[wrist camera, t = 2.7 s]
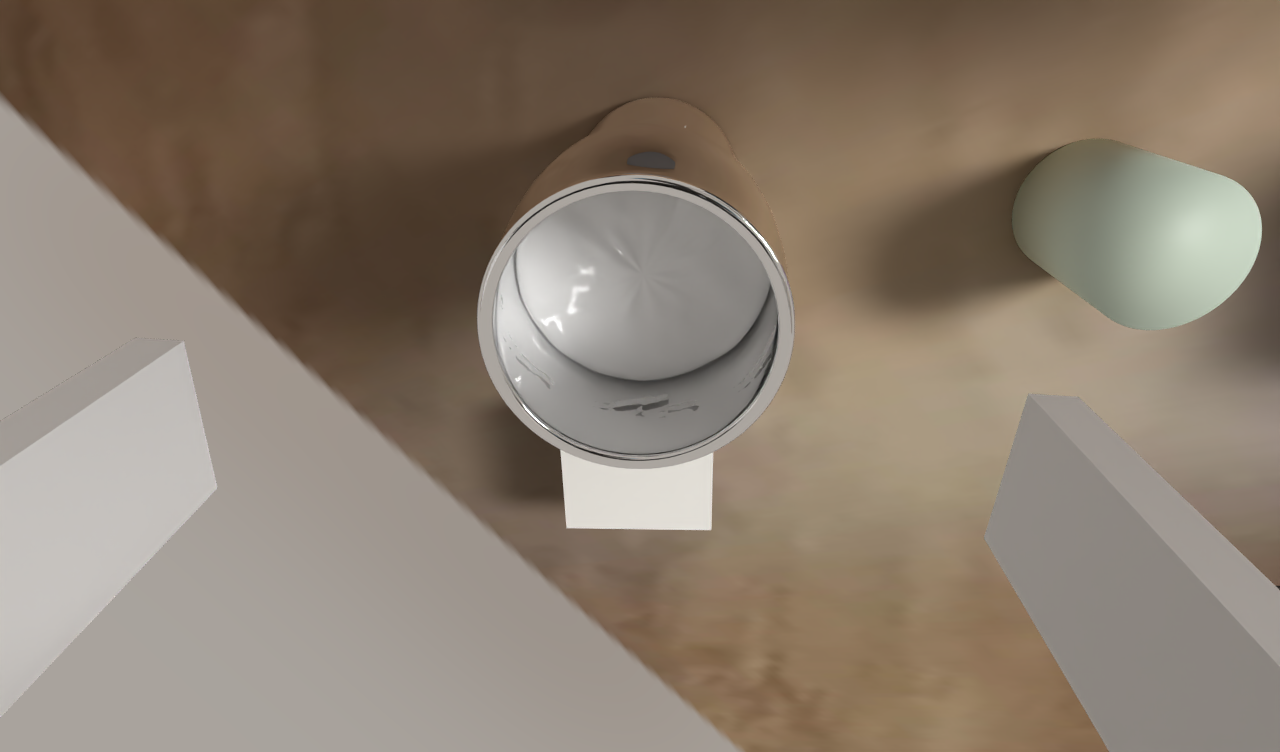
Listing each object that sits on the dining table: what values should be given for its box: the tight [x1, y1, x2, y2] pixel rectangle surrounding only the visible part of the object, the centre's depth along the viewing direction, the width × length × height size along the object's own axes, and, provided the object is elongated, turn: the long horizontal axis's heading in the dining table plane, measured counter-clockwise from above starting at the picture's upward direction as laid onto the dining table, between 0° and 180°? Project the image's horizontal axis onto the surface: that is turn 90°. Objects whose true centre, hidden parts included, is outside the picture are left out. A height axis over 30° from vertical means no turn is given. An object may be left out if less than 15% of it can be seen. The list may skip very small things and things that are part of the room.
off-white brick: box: [560, 450, 713, 530], centre depth 32 cm, size 6×5×4 cm
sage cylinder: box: [1012, 139, 1262, 330], centre depth 26 cm, size 5×5×6 cm
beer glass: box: [477, 97, 795, 469], centre depth 22 cm, size 7×7×15 cm
